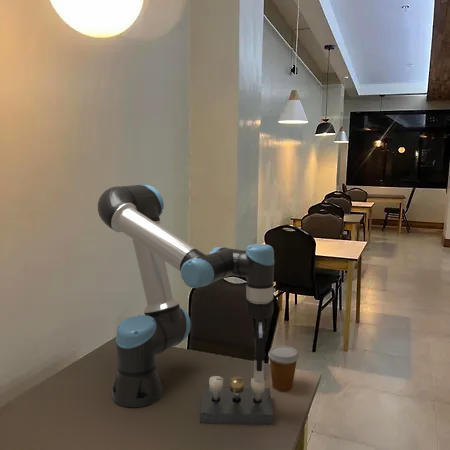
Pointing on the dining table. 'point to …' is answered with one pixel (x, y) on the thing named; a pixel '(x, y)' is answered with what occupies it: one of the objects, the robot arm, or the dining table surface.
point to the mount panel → (236, 407)
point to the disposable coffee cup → (283, 367)
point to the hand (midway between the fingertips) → (258, 379)
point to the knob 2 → (257, 388)
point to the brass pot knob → (236, 386)
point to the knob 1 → (215, 386)
